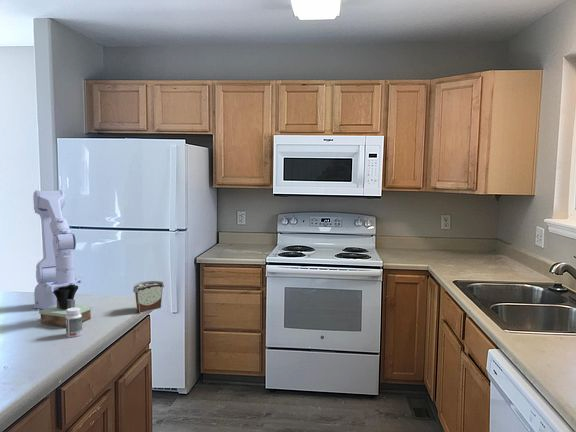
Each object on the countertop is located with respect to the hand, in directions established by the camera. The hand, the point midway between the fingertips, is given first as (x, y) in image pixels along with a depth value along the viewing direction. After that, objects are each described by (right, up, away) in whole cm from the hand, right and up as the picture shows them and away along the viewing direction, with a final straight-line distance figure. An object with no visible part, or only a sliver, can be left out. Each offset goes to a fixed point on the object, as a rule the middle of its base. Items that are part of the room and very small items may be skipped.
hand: (65, 307), depth 165 cm
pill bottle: (+8, -6, -12) cm, 16 cm away
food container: (+23, -4, +17) cm, 28 cm away
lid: (0, -1, 0) cm, 1 cm away
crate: (0, -5, 0) cm, 5 cm away
